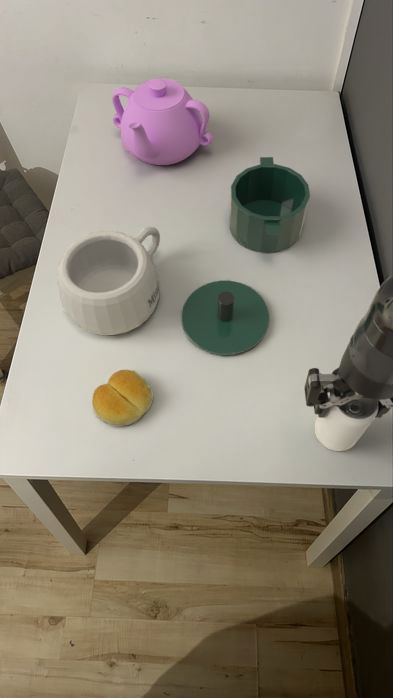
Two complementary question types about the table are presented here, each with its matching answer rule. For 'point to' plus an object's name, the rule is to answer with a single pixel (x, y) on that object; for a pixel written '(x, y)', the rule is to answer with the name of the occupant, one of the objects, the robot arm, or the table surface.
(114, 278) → the mug
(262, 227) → the pot
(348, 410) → the can
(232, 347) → the lid
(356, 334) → the robot arm
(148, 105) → the teapot
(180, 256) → the table surface
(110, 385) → the bread roll
